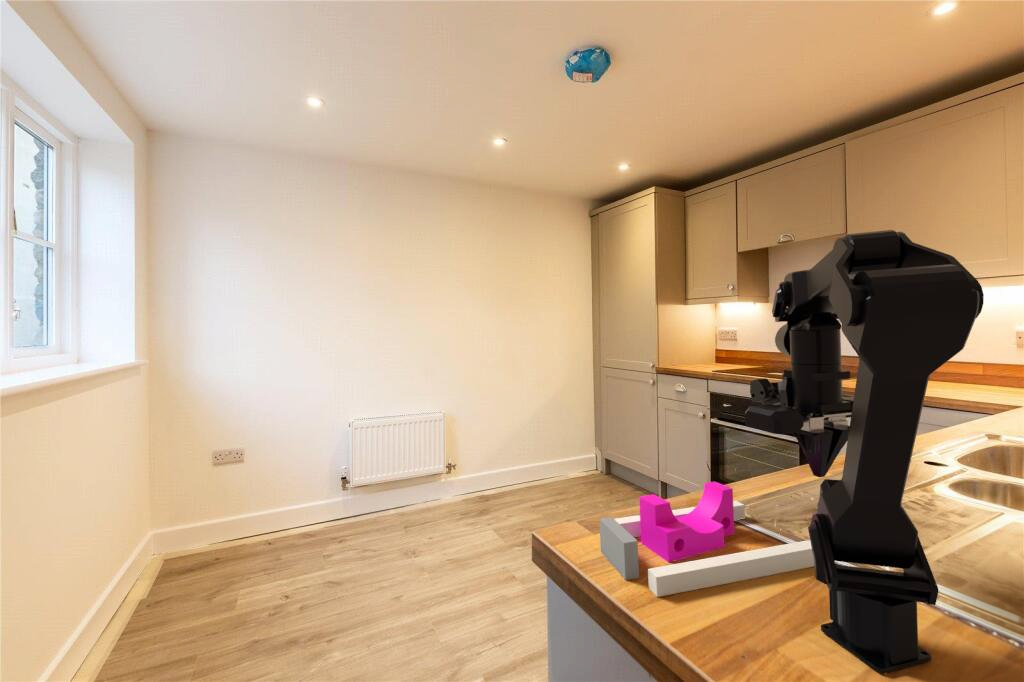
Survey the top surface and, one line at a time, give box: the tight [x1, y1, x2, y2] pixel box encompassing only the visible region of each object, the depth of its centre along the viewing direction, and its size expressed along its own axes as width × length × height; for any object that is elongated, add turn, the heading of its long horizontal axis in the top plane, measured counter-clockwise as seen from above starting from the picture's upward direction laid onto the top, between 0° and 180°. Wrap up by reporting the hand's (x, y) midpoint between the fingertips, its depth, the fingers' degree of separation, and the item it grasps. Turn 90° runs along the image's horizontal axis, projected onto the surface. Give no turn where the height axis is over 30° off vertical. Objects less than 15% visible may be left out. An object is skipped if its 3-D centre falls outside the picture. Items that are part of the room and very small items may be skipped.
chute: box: [598, 500, 815, 598], centre depth 65 cm, size 17×28×5 cm, turn 102°
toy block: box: [638, 480, 735, 563], centre depth 68 cm, size 15×6×8 cm, turn 110°
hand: (819, 476), depth 60 cm, fingers closed
